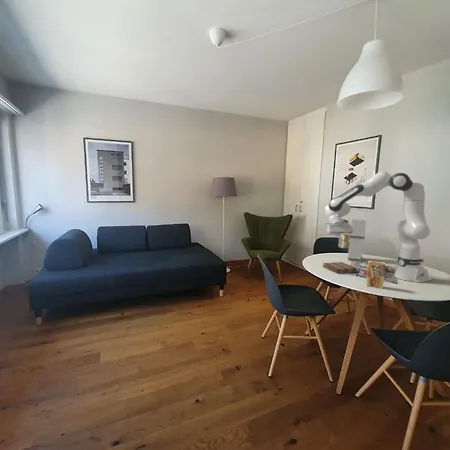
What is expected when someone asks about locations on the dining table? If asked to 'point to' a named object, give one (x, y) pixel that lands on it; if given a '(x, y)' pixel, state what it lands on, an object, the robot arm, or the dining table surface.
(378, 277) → the candy box
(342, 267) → the walnut plinth
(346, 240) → the birch block
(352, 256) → the display case
